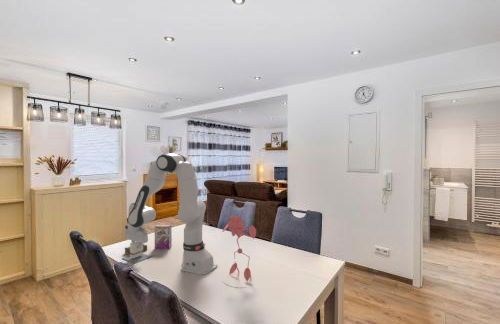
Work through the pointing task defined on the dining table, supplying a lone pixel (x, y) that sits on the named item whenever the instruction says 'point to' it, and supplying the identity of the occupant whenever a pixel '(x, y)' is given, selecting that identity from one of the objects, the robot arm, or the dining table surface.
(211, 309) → the dining table surface
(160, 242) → the candy bar box
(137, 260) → the mat
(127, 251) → the wooden card holder
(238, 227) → the red stick figure
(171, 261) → the dining table surface
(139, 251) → the white upright block
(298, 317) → the dining table surface
